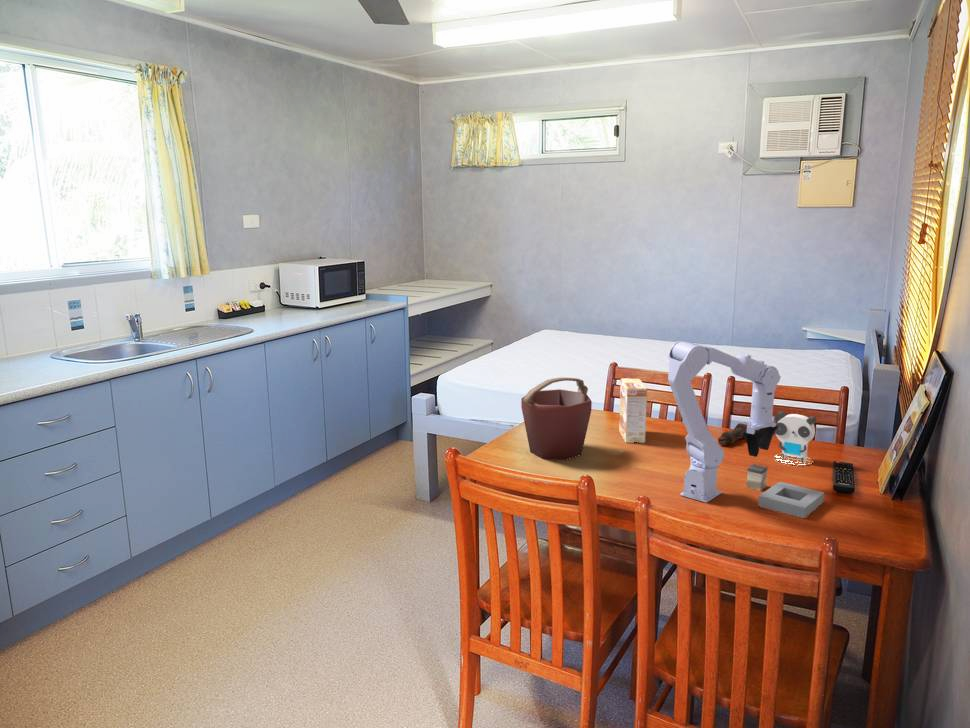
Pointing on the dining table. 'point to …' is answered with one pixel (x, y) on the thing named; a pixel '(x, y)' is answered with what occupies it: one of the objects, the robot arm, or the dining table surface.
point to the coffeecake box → (633, 410)
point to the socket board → (791, 499)
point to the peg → (756, 477)
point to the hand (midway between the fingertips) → (758, 452)
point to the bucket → (556, 420)
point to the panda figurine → (794, 436)
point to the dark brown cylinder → (732, 435)
